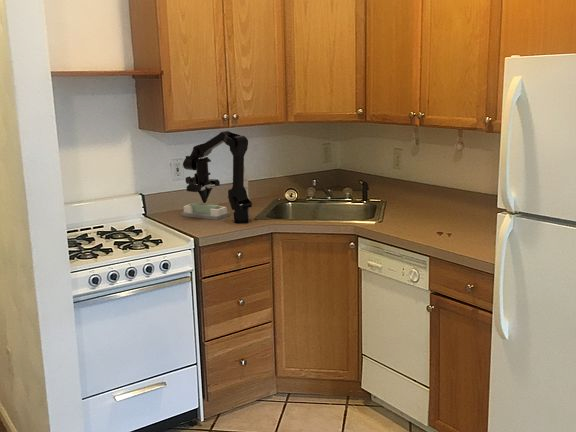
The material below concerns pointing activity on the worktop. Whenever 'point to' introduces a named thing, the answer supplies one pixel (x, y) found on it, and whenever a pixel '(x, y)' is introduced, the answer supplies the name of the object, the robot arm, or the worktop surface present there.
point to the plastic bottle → (246, 183)
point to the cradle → (214, 215)
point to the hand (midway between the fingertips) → (204, 202)
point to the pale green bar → (203, 207)
